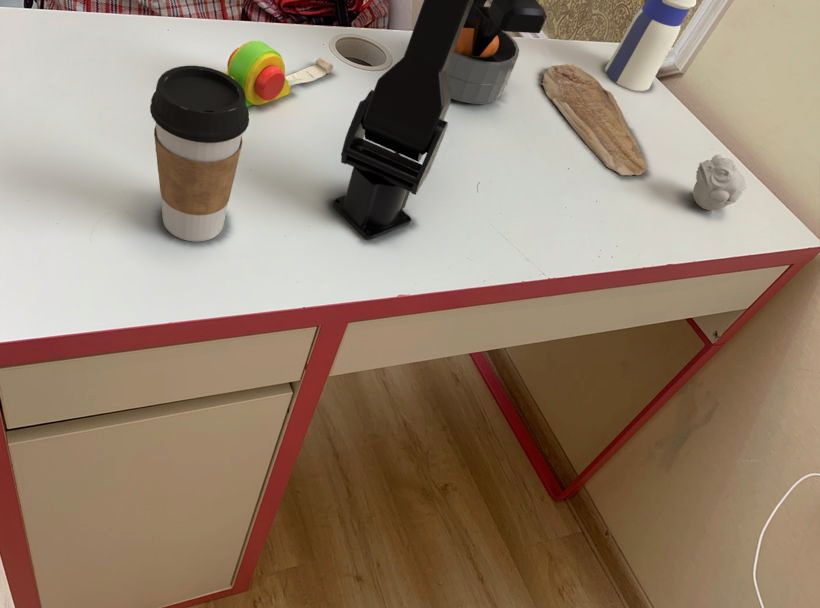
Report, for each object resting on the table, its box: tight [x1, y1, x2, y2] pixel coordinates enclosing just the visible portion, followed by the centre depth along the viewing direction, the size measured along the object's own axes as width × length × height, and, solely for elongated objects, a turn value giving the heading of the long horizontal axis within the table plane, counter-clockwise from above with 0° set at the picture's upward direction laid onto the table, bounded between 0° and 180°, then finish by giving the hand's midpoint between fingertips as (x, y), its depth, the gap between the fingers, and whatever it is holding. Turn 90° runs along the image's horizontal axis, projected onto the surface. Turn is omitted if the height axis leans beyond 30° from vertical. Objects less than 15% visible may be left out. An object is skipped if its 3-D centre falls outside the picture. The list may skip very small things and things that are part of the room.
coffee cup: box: [149, 65, 250, 243], centre depth 65 cm, size 8×8×15 cm
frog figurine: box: [692, 154, 747, 211], centre depth 91 cm, size 6×7×7 cm
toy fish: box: [454, 28, 499, 58], centre depth 96 cm, size 9×4×4 cm, turn 109°
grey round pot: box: [447, 31, 520, 105], centre depth 98 cm, size 13×13×6 cm
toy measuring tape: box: [222, 40, 334, 107], centre depth 86 cm, size 6×19×7 cm, turn 138°
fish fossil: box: [541, 63, 647, 177], centre depth 102 cm, size 26×10×1 cm, turn 18°
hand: (469, 47), depth 97 cm, fingers closed on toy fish, 3 cm apart
